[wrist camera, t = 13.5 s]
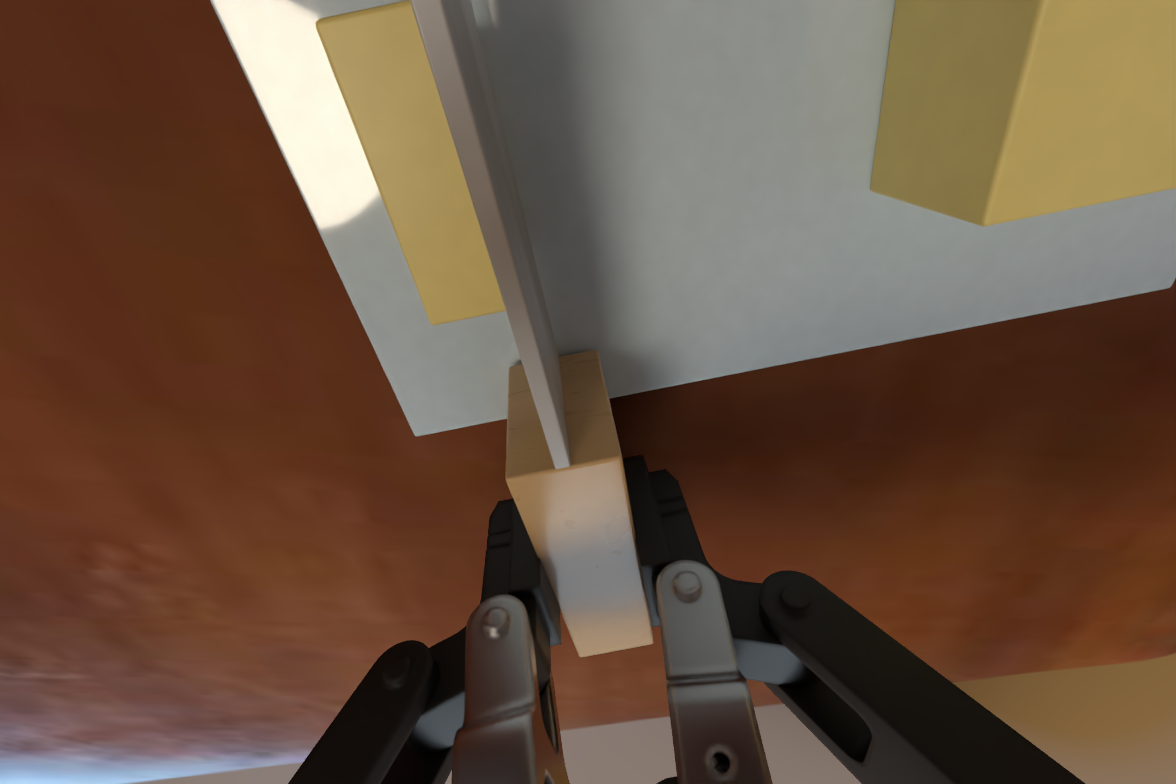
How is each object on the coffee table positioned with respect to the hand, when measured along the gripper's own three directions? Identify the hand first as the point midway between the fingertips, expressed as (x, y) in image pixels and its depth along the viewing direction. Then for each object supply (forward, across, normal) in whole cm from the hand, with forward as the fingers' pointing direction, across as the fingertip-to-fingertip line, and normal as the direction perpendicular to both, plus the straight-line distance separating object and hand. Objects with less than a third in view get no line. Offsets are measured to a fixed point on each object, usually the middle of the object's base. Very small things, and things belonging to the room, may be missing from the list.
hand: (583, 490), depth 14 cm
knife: (0, 0, -5) cm, 5 cm away
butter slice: (+1, +1, -9) cm, 9 cm away
